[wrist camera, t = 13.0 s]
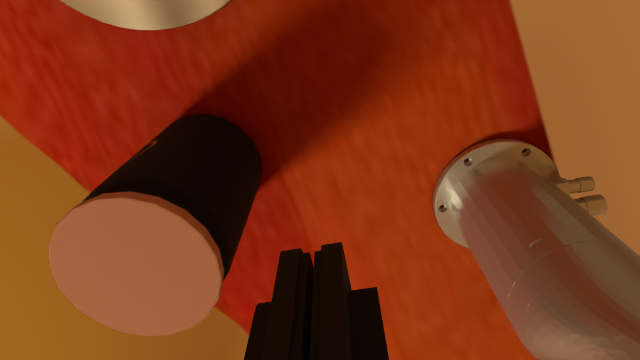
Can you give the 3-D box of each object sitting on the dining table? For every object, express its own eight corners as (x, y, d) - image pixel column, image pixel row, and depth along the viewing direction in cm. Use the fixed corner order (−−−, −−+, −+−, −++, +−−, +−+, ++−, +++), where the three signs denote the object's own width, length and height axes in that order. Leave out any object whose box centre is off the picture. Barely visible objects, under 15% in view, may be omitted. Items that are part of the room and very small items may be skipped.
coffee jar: (172, 93, 38) (57, 170, 22) (278, 134, 40) (244, 234, 24) (149, 187, 43) (38, 308, 26) (245, 220, 44) (197, 355, 28)
